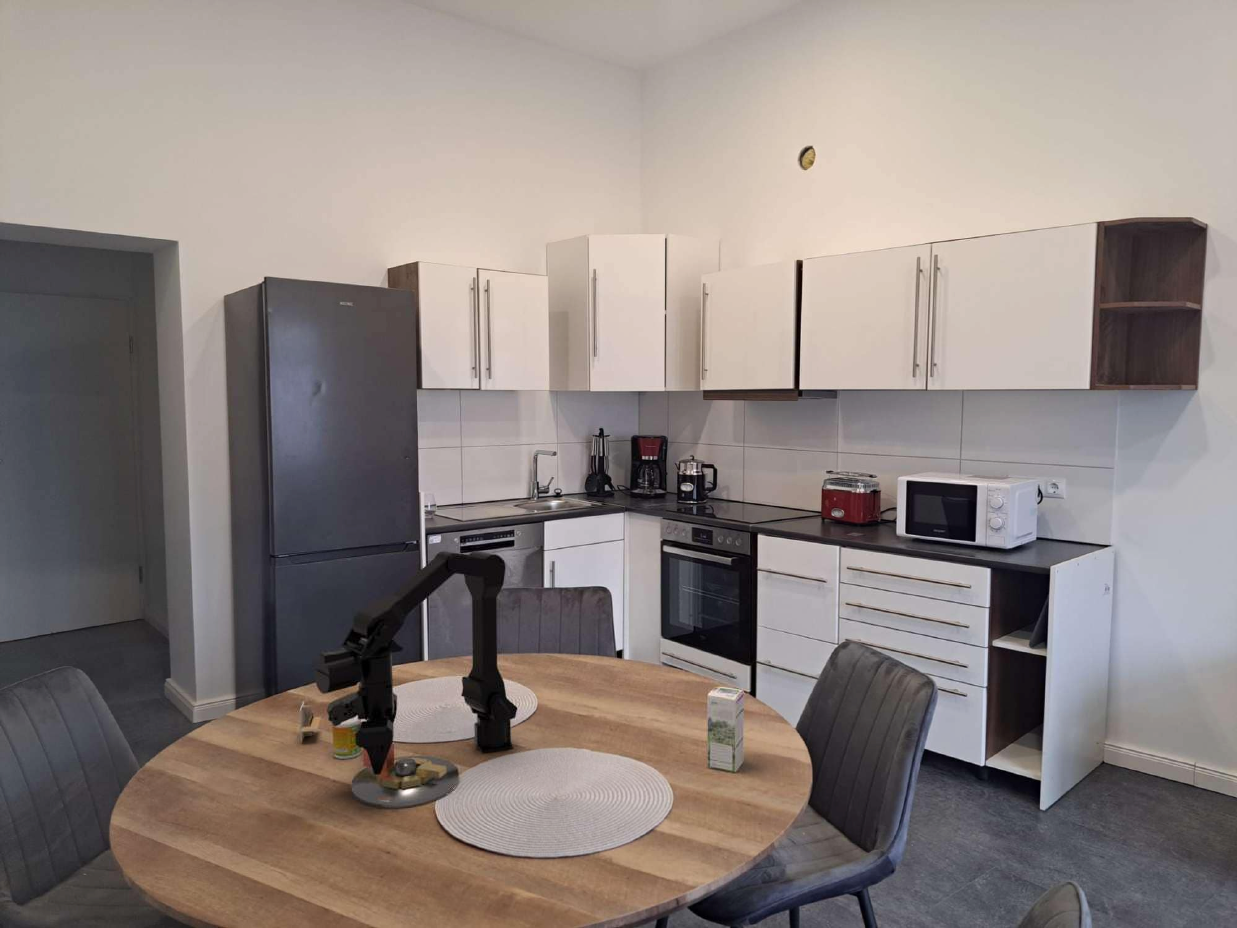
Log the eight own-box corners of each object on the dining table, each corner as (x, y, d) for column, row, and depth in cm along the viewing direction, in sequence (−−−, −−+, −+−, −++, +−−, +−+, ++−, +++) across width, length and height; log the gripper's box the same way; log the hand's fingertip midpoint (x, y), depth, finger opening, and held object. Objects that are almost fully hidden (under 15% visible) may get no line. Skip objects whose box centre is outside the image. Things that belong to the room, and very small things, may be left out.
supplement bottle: (353, 760, 165) (351, 711, 165) (327, 758, 166) (326, 710, 166) (366, 749, 171) (365, 702, 170) (342, 747, 172) (340, 700, 171)
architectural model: (321, 733, 180) (320, 699, 180) (317, 746, 174) (316, 710, 173) (304, 735, 180) (303, 700, 179) (300, 747, 173) (298, 712, 172)
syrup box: (744, 761, 164) (744, 688, 163) (735, 773, 158) (735, 698, 157) (716, 756, 166) (716, 684, 165) (706, 768, 161) (706, 693, 160)
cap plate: (448, 755, 167) (448, 735, 167) (467, 796, 150) (467, 774, 149) (347, 771, 160) (347, 750, 160) (355, 816, 143) (355, 793, 143)
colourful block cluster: (431, 755, 164) (431, 730, 163) (448, 782, 152) (448, 755, 152) (362, 768, 158) (361, 742, 158) (374, 797, 146) (373, 769, 146)
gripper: (335, 666, 160) (338, 746, 162) (322, 701, 142) (326, 790, 143) (396, 662, 163) (398, 740, 164) (391, 695, 144) (394, 783, 146)
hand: (379, 762), depth 154 cm, fingers open, 9 cm apart
